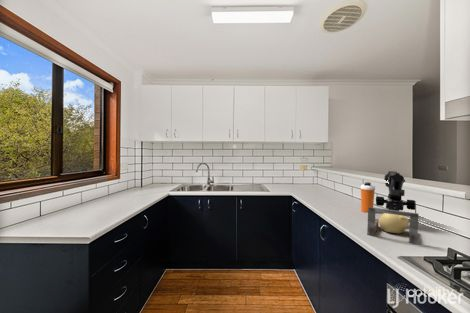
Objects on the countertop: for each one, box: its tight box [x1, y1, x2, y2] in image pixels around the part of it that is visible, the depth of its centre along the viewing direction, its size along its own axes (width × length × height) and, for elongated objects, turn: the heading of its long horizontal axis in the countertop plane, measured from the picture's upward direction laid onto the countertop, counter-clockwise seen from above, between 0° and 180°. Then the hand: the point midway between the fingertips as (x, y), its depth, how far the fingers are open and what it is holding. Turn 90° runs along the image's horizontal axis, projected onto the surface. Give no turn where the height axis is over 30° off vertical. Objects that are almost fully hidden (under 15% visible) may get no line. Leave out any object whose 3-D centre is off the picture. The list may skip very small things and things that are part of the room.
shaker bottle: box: [360, 181, 376, 214], centre depth 171 cm, size 9×9×20 cm
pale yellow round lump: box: [378, 213, 410, 234], centre depth 128 cm, size 12×12×11 cm
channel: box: [366, 206, 419, 245], centre depth 124 cm, size 20×20×14 cm
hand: (394, 215), depth 135 cm, fingers closed
